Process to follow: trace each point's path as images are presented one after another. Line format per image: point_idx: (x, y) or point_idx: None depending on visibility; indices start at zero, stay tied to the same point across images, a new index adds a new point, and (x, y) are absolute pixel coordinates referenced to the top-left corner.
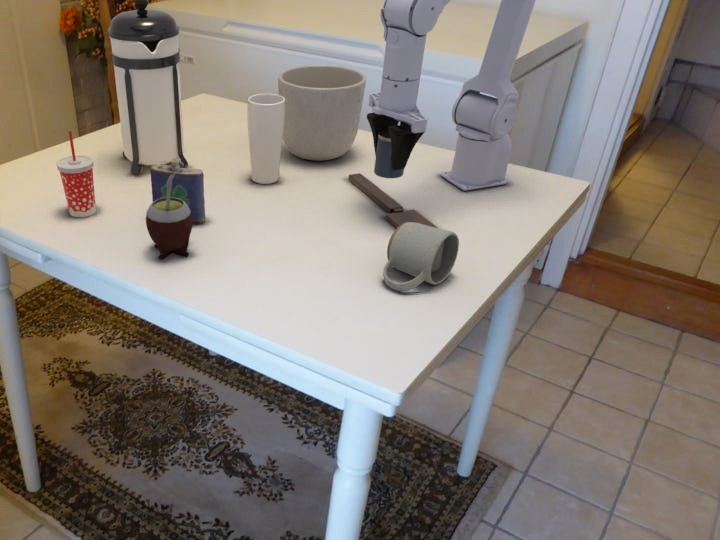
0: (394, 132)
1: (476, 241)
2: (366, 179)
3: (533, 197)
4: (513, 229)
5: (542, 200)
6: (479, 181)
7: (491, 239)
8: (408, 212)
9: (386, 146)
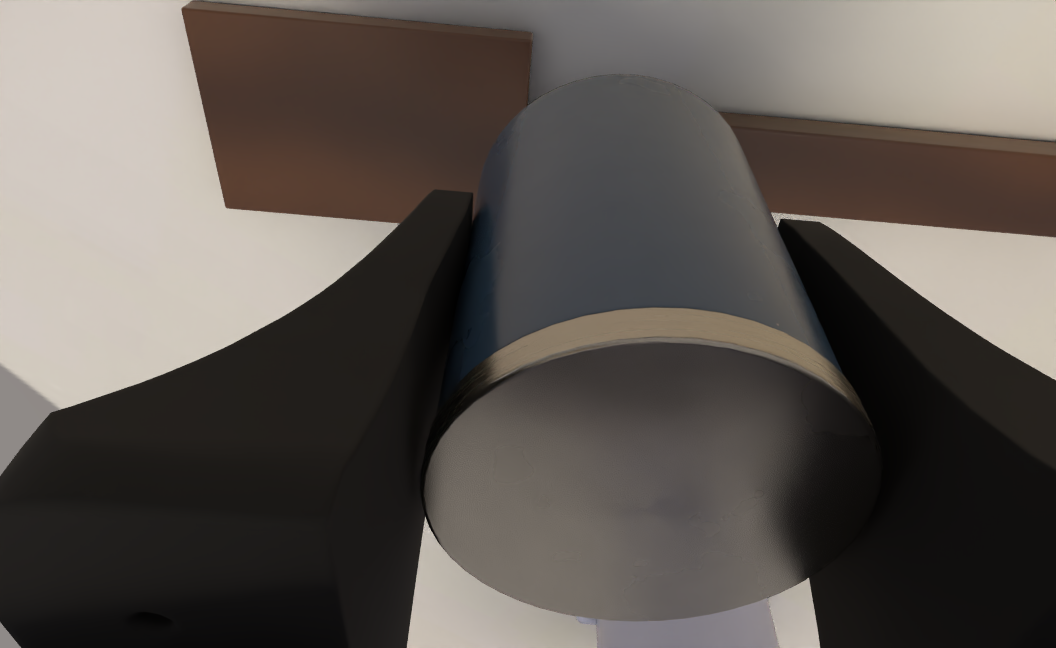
0: (25, 460)
1: (137, 292)
2: (1012, 224)
3: (452, 611)
4: None
5: (421, 615)
6: None
7: (150, 350)
8: None
9: (532, 284)
